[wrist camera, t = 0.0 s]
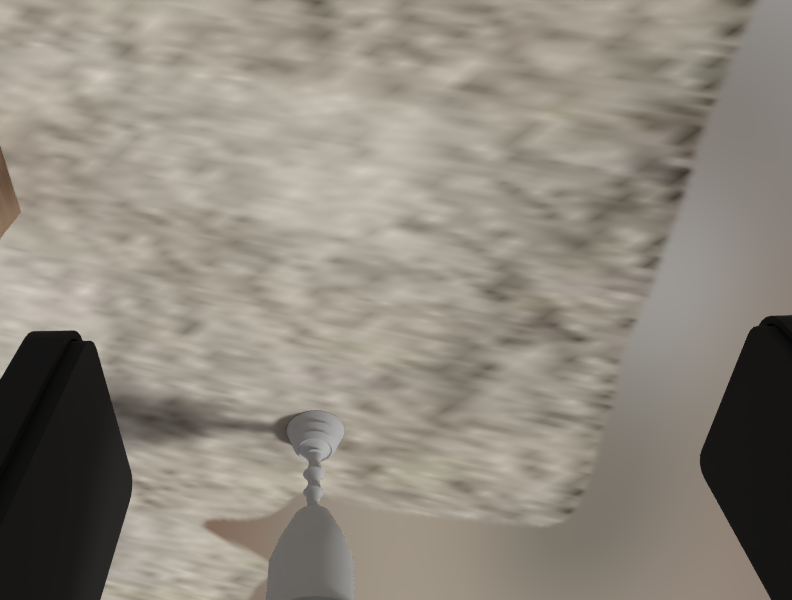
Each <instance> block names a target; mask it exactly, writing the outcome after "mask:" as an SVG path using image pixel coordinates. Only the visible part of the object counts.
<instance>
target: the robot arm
mask: <svg viewBox="0 0 792 600" xmlns="http://www.w3.org/2000/svg"><path fill="white" fill-rule="evenodd" d="M700 466H701V471H702V474H703V476H704V478H705V480H706V482H707V484H708V486H709V487H710V489H711V491H712V493H713V494H714V496H715V498H716V500H717V502H718V504H719V505H720V507H721V509H722V511H723V512H724V515H725V516H726V518H727V520H728V522H729V524H730V526H731V527H732V529H733V531H734V533H735V535H736V536H737V538H738V540H739V542H740V544H741V546H742V547H743V549H744V551H745V553H746V555H747V556H748V558H749V560H750V562H751V564H752V566H753V567H754V569H755V571H756V573H757V575H758V576H759V578H760V580H761V582H762V584H763V585H764V587H765V589H766V590H767V593H768V594H769V596H770V598H771V600H792V315H788V316H769V317H766V318H765V319H763V320H762V321H761V323H760V324H759V326H756V327H753V328H752V329H751V330H750V332H749V334H748V336H747V338H746V341H745V343H744V346H743V348H742V351H741V353H740V356H739V358H738V361H737V363H736V366H735V368H734V371H733V373H732V376H731V378H730V381H729V383H728V386H727V388H726V391H725V393H724V396H723V398H722V401H721V403H720V406H719V408H718V411H717V413H716V416H715V418H714V421H713V423H712V426H711V429H710V431H709V433H708V436H707V438H706V441H705V443H704V446H703V448H702V451H701V454H700ZM131 492H132V474H131V470H130V466H129V463H128V459H127V455H126V452H125V448H124V445H123V441H122V438H121V434H120V431H119V427H118V423H117V420H116V416H115V413H114V409H113V406H112V402H111V399H110V395H109V392H108V388H107V384H106V381H105V377H104V374H103V370H102V367H101V363H100V360H99V356H98V352H97V349H96V347H95V344H94V343H93V342H92V341H83V340H82V338H81V336H80V334H79V333H78V332H77V331H33V332H30V333H28V335H27V336H26V337H25V338H24V340H23V342H22V343H21V345H20V347H19V349H18V350H17V352H16V354H15V355H14V357H13V359H12V361H11V362H10V364H9V366H8V367H7V369H6V371H5V372H4V374H3V376H2V378H1V379H0V600H100V599H101V596H102V592H103V589H104V586H105V582H106V579H107V575H108V572H109V569H110V565H111V562H112V559H113V555H114V552H115V549H116V545H117V542H118V539H119V535H120V532H121V528H122V525H123V522H124V518H125V515H126V512H127V508H128V505H129V502H130V498H131Z"/></svg>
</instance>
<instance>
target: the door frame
mask: <svg viewBox="0 0 792 600" xmlns="http://www.w3.org/2000/svg"><path fill="white" fill-rule="evenodd" d="M20 213H21V211H20V208H19V205H18V202H17V198H16V195H15V192H14V189H13V186H12V183H11V179H10V176H9V173H8V170H7V167H6V164H5V160H4V157H3V154H2V151H1V148H0V238H1V237H2V236H3V234H4V233H5V232H6V231H7V229H8V228H9V227H10V225H11V224H12V223H13V222H14V220H15V219H16V218H17V217H18V215H19V214H20Z"/></svg>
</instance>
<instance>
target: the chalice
mask: <svg viewBox="0 0 792 600" xmlns="http://www.w3.org/2000/svg"><path fill="white" fill-rule="evenodd" d="M343 435H344V426H343V424H342V422H341V421H340V420H339V419H338V418H337V417H336V416H334V415H332V414H330V413H328V412H323V411H308V412H304V413H301V414H299V415H297V416H296V417H294V418H293V419H292V420H291V421H290V422H289V424H288V427H287V436H288V438H289V440H290V442H291V444H292V446H293V448H294V450H295V452H296V454H297V455H298V456H300V457H301V458H302V459H304V460H306V461H309V466H308V469H306V470H305V471H304V473H303V476H304V478H305V479H307V481H308V485H307V488H306V489H304V491H303V494H304V496H306V498H307V504H308V505H307V506H306V507H303V508H301V509H300V510H298V511H297V512H296V514H295V515H294V517H293V518H292V520H291V521H290V523H289V524H288V526H287V527H286V529H285V530H284V532H283V533H282V535H281V537H280V539H279V541H278V543H277V545H276V547H275V549H274V551H273V553H272V556H271V558H270V560H269V569H268V580H267V592H266V600H354V567H353V566H354V565H353V555H352V552H351V550H350V548H349V546H348V543H347V541H346V538H345V536H344V534H343V532H342V530H341V528H340V527H339V525H338V524H337V522H336V521H335V519H334V517H333V516H332V514H331V513H330V511H329V510H328V509H326V508H324V507H322V506H319V501H320V498H321V496H322V495H323V493H324V490H323V489H322V488H321V486H320V480H321V479H322V478H323V477H324V476H325V471H324V470H323V469H322V468H321V466H320V462H321V461H324V460H326V459H328V458H329V457H330V456H331V455H332V454H333V453H334V452H335V450H336V448H337V447H338V445H339V442H340V441H341V439H342V437H343Z"/></svg>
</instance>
